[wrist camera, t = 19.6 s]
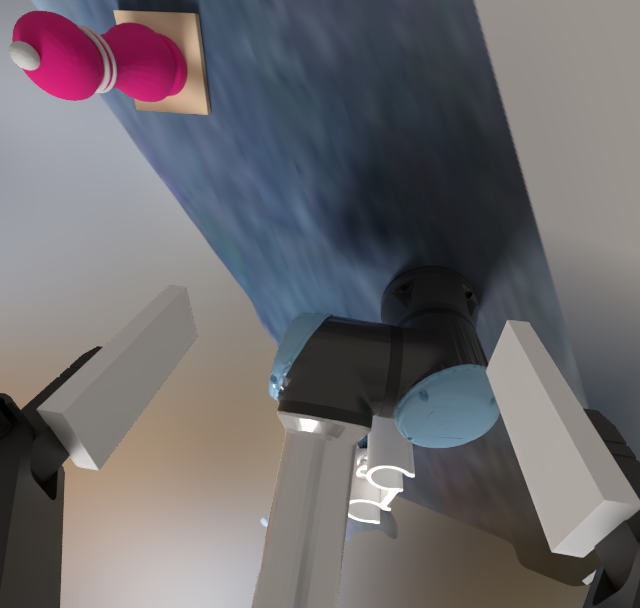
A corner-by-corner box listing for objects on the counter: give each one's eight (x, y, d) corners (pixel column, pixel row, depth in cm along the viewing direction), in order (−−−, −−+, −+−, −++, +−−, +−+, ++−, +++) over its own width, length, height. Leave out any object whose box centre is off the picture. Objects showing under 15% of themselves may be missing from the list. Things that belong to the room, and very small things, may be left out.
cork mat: (211, 114, 43) (207, 114, 43) (141, 109, 45) (136, 109, 44) (198, 14, 38) (194, 13, 37) (119, 11, 39) (113, 10, 38)
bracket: (372, 407, 71) (371, 459, 61) (415, 419, 71) (421, 474, 61) (342, 464, 86) (337, 514, 76) (378, 474, 86) (377, 526, 76)
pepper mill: (174, 113, 43) (47, 133, 27) (125, 66, 41) (-44, 56, 25) (202, 65, 40) (76, 53, 23) (151, 11, 38) (-28, -44, 21)
